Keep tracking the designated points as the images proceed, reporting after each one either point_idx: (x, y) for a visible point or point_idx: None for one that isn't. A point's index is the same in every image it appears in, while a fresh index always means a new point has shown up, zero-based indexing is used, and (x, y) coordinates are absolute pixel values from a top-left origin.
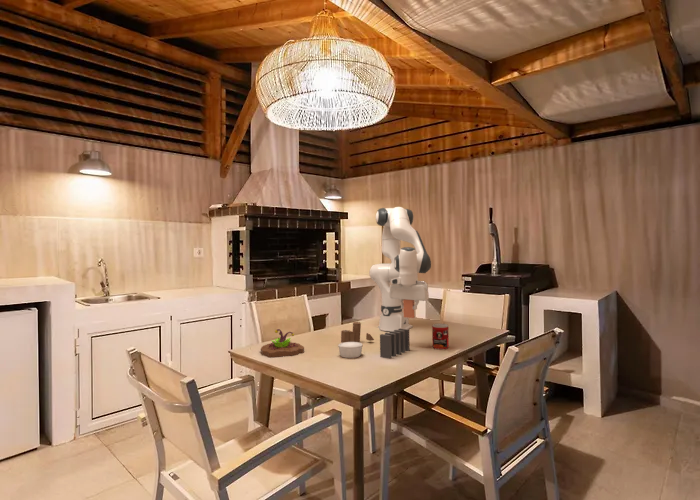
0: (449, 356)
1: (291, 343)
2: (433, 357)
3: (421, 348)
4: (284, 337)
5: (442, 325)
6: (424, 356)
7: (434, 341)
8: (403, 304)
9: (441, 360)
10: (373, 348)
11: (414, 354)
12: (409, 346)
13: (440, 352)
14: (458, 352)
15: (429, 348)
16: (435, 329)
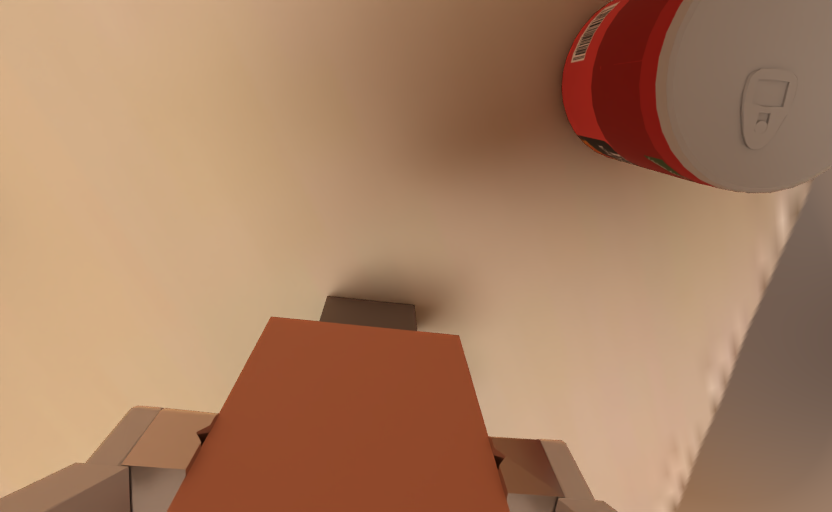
0: (740, 331)
1: None
2: (638, 402)
3: (479, 196)
4: None
5: (809, 36)
6: (573, 406)
7: (614, 155)
8: (126, 492)
9: (701, 442)
10: (121, 374)
11: (491, 391)
12: (415, 320)
13: (659, 252)
14: (797, 187)
15: (544, 164)
16: (700, 183)
